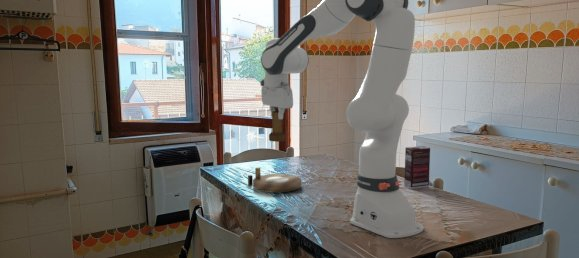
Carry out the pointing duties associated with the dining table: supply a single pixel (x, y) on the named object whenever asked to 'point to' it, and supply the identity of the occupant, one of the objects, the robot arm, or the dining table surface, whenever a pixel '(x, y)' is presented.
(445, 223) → the dining table surface
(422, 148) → the supplement box
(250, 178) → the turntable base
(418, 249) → the dining table surface
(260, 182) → the turntable
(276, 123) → the brown wooden upright piece
